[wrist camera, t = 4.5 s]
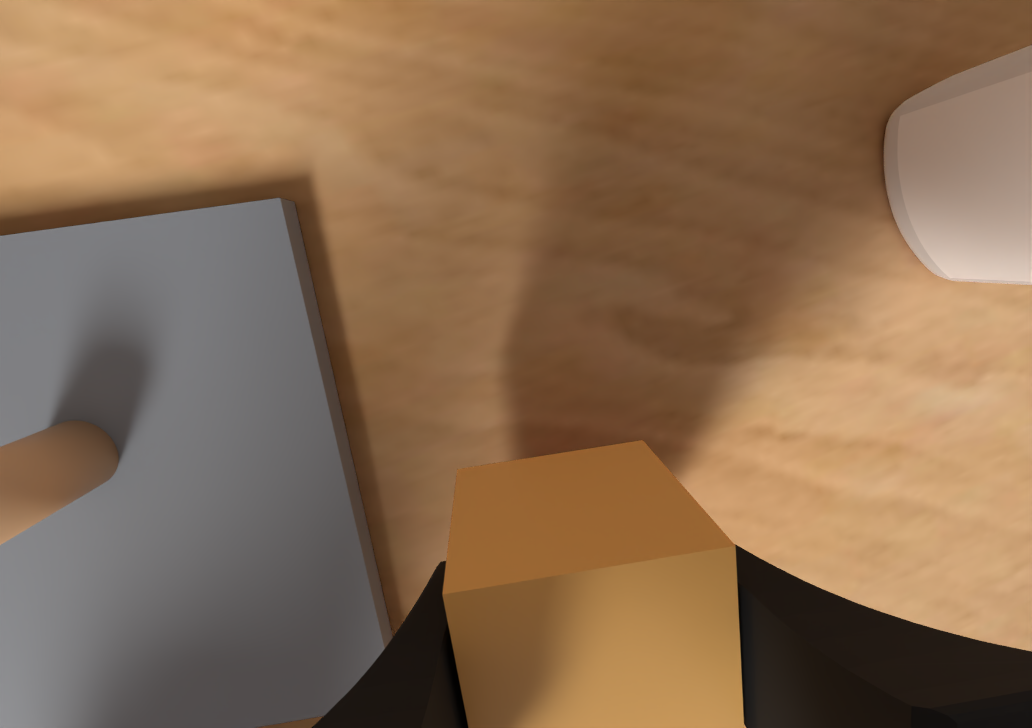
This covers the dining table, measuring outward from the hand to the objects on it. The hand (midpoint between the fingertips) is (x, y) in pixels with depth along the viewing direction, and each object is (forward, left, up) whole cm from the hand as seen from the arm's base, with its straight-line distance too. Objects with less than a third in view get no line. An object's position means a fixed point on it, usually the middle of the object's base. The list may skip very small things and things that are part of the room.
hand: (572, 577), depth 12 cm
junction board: (+2, +13, -4) cm, 14 cm away
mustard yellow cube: (0, 0, -2) cm, 2 cm away
